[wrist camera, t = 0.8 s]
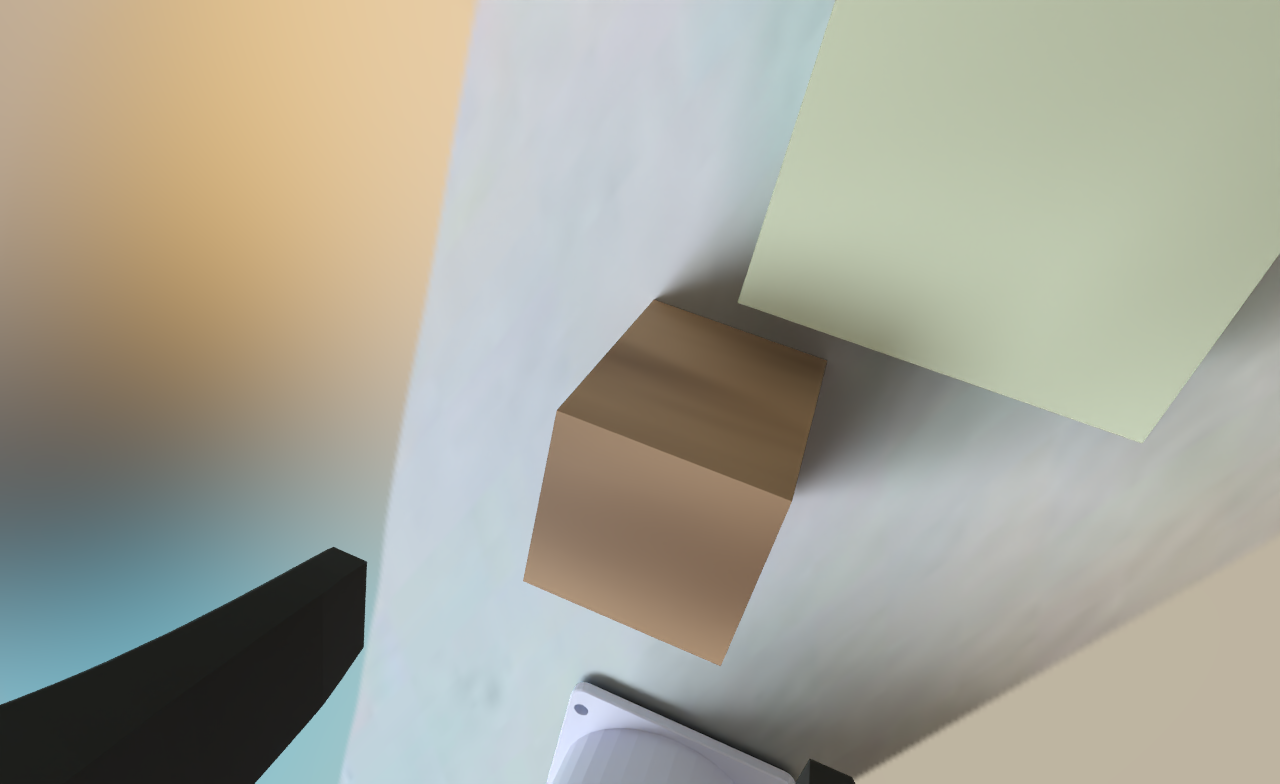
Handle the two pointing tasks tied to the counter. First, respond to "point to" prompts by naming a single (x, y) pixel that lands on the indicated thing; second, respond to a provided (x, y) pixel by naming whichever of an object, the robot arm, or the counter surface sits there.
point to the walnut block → (674, 477)
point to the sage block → (1032, 193)
